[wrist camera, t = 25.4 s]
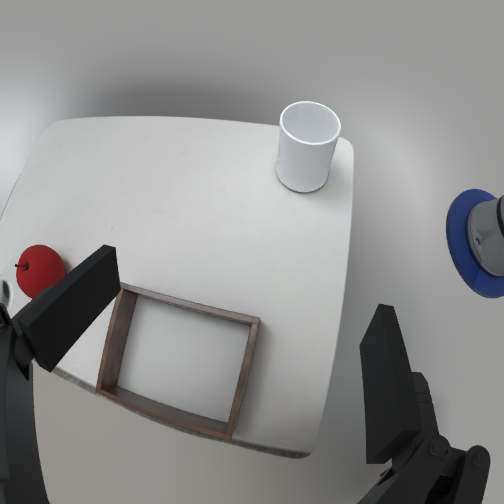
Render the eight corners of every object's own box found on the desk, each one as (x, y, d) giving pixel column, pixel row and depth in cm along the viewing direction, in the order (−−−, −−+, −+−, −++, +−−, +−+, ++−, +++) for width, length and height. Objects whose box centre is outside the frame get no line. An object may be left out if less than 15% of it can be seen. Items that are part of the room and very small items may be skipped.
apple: (62, 312, 42) (24, 302, 32) (32, 293, 43) (-4, 281, 34) (80, 262, 44) (45, 244, 35) (49, 248, 46) (15, 229, 36)
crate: (234, 429, 36) (230, 440, 31) (111, 388, 38) (95, 391, 33) (260, 320, 40) (259, 317, 36) (134, 288, 42) (120, 281, 38)
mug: (279, 133, 49) (281, 83, 38) (327, 138, 48) (339, 90, 37) (273, 189, 46) (275, 142, 34) (327, 195, 45) (344, 150, 33)
